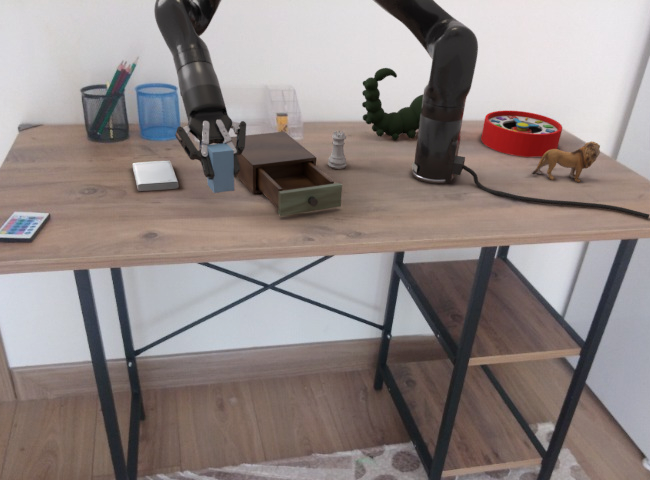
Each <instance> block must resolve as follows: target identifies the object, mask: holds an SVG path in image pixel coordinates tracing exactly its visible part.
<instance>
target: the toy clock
mask: <svg viewBox="0 0 650 480" xmlns="http://www.w3.org/2000/svg"><path fill="white" fill-rule="evenodd" d="M562 131H563V126H562V124H561V123H560V122H558V121H557V120H555V119H553V118H551V117H548V116H545V115H542V114H539V113H534V112H529V111H523V110H522V111H521V110H495V111H491V112H489V113H487V114H486V115H485V117H484V122H483V127H482V132H481V137H480V140H481V142H482V144H483V145H484V146H486V147H487V148H489V149H492V150H494V151H496V152H499V153H503V154H507V155H511V156H517V157H524V158H542V156H543V155H544V154H545V153H546V152H547V151H548V150H551V149H558V147H559V143H560V139H561V135H562Z"/></svg>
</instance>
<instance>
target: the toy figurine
mask: <svg viewBox="0 0 650 480" xmlns="http://www.w3.org/2000/svg"><path fill="white" fill-rule="evenodd" d="M390 76H391V77H393V78H395V79H397V77H398V74H397V72H396V71H395V70H394V69H392V68H391V67H381V68H380V69H378V70H376V72H375V73H374V76H373V77H368V78H366V79H365V80H363V81H362V86H363V87H364V90H362V91H361V93H362V97H364V99H365V101H363V102H362V103H361V106H362V107H363V108H364V109H365V110H366V113H364V114H363V115H362V120H363V121H364V122H365V124H366V125H372V126H371V130H372V131H373V132H375V135H377V137H383V136H384V135H387V136H388V137H391V140H393V141H398V140H399V139H400V136H401V135H402V134H404V135H406V137H407V138H408V139H415V137H417V132H416V131H417V130H418V131H419V123H420V116H421V108H422V101H423V94H420V95H418V96H416V97H415V98H413V100H412V101H411V103H410V105H409V106H405V107H402V108H400V109H399V110H398V111H397V112H396V111H392V112H385V110H384V108H383V107H382V106H383V105H382V104H383V103H382V101H381V99H380V97H381V92H380V89H379V88H378V87H379V82H381V81H383V80H385V79H386V78H387V77H390Z"/></svg>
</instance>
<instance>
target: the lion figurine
mask: <svg viewBox="0 0 650 480" xmlns="http://www.w3.org/2000/svg"><path fill="white" fill-rule="evenodd" d="M600 148H601V144H599V143H598V142H596V141H592V140H591V141H588V142H585V143H584V145H583V146H581V147H579V148H577V149H576V150H574V151H565V150H561V149H558V148H557V149H551V150H548V151H547V152H546V153H545V154H544V155H543V156H542V157H540V160H539V162H538V164H537V166H536V168H535V170H533V171H532V172H531V175H535V174H539V175H541V174H543V171H542V170H541V169H542V168H543V167H545V166H548V168H547V170H546V174H547V177H548V179H549V180H551V181H552V180H553V181H554V180H555V179H556V178H555V175H553V174H552V172H553V170H554V169H555V167H556V166H557V165H559V166H560V167H562V168H565V169H570V173H569V177H570V178H573V179H574V181H575V182H576V183H581V178H580V176H581V175H582V172H583V170H584V169H588V168H590V167H591V166H592V165H593V163H595V162H596V161H597V160H598V159H597V158H598V157H599V155H600V153H601V151H600V150H601V149H600Z"/></svg>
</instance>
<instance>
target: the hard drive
mask: <svg viewBox="0 0 650 480" xmlns="http://www.w3.org/2000/svg"><path fill="white" fill-rule="evenodd" d="M132 170H133V174H134V175H133V176H134V179H135V184H136V187H137V191H138V192H147V191H149V192H150V191H162V190H163V191H164V190H176V189H178V188H179V181H178V178H177V175H176V173H175V170H174V167H173V165H172V162H171V161H170V160H155V161H154V160H153V161H140V162H138V161H137V162H133V163H132Z"/></svg>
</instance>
